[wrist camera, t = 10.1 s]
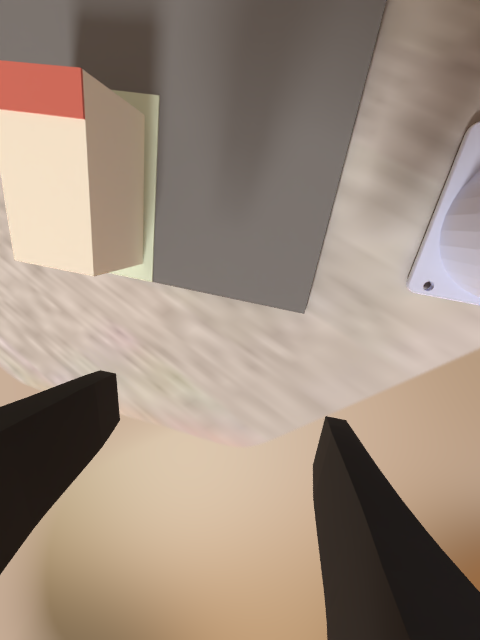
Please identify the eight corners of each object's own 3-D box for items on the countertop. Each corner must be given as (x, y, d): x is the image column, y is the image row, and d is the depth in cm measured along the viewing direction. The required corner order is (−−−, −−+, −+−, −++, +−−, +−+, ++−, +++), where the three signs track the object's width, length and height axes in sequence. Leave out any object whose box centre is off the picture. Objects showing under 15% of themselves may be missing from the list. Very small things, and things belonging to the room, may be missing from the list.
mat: (389, -17, 11) (394, -30, 11) (304, 311, 17) (304, 314, 16) (-11, -39, 14) (-24, -50, 13) (28, 253, 19) (20, 254, 19)
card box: (142, 263, 17) (92, 276, 13) (80, 251, 18) (12, 260, 13) (144, 114, 14) (80, 67, 10) (70, 106, 15) (-21, 58, 10)
